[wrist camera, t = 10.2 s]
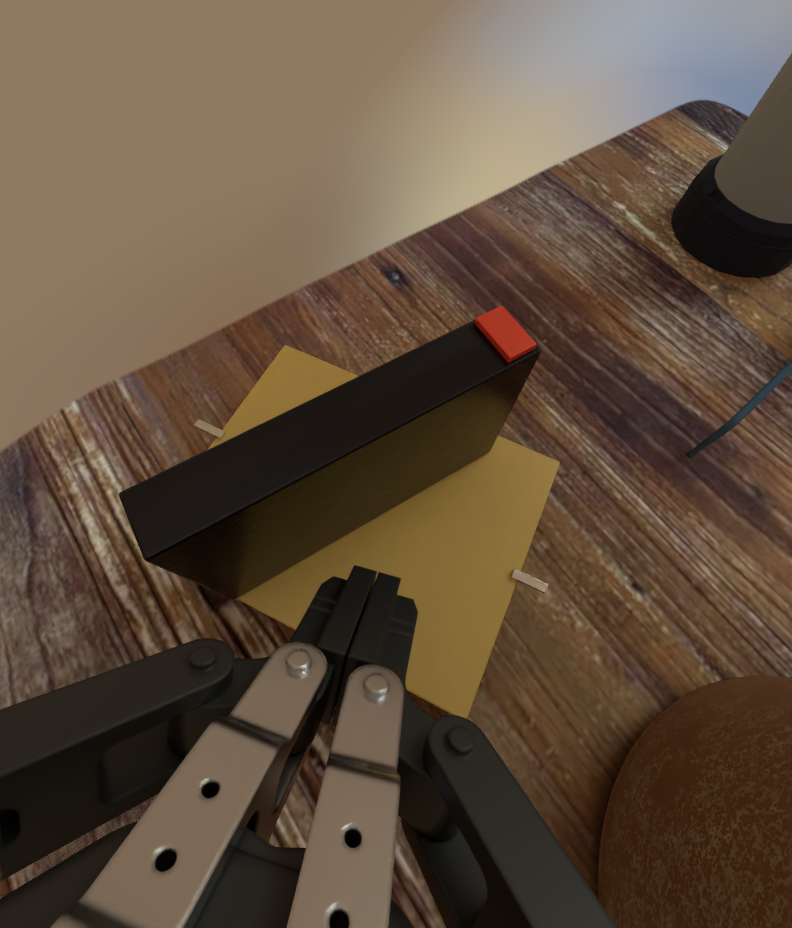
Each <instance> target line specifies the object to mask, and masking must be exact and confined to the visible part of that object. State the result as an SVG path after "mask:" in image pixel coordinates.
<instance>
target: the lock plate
mask: <svg viewBox="0 0 792 928" xmlns="http://www.w3.org/2000/svg"><path fill="white" fill-rule="evenodd" d="M356 377H358V376H357V375H355V374H352V373H350V372H348V371H345V370H343V369H341V368H338V367H336V366H334V365H331V364H329V363H327V362H324V361H322V360H320V359H317V358H315V357H313V356H310V355H308V354H306V353H303V352H301V351H299V350H296V349H294V348H292V347H289V346H287V345H284V347H283V348H282V349H281V351H280V352H279V353H278V355H277V356H276V357H275V359H274V360H273V362H272V363H271V364H270V366H269V367H268V368H267V370H266V371H265V372H264V374H263V375H262V376H261V378H260V379H259V381H258V382H257V383H256V385H255V386H254V387H253V389H252V390H251V391H250V393H249V394H248V395H247V397H246V398H245V399H244V401H243V402H242V404H241V405H240V406H239V408H238V409H237V410H236V412H235V413H234V414H233V416H232V417H231V418H230V420H229V421H228V423H227V424H226V425H225V427H224V428H223V429H222V430H221V429H219V428H217V427H214V426H212V425H210V424H208V423H206V422H204V421H202V420H200V419H198V420H197V422H196V423H195V424H194V426H195V427H196V428H198V429H200V430H203V431H205V432H207V433H209V434H211V435H213V436H215V437H216V439H215V440H214V441H213V443H212V444H211V446H210V447H209V448H208V449H210V448H212V447H214V446H217V445H219V444H221V443H223V442H225V441H227V440H229V439H231V438H233V437H235V436H237V435H239V434H241V433H243V432H245V431H247V430H249V429H251V428H254V427H256V426H258V425H260V424H262V423H264V422H266V421H268V420H270V419H272V418H274V417H276V416H278V415H280V414H282V413H284V412H286V411H288V410H291V409H293V408H295V407H297V406H299V405H301V404H303V403H305V402H307V401H309V400H311V399H313V398H315V397H317V396H319V395H321V394H323V393H325V392H328V391H330V390H332V389H334V388H336V387H338V386H340V385H342V384H344V383H346V382H348V381H350V380H352V379H354V378H356ZM559 465H560V462H558V461H556V460H554V459H551V458H549V457H547V456H544V455H542V454H540V453H537V452H535V451H533V450H530V449H528V448H526V447H523V446H521V445H519V444H516V443H514V442H512V441H509V440H507V439H505V438H502V437H500V436H498V437H497V439H496V441H495V443H494V445H493V447H492V449H491V450H490V452H489V453H487V454H485V455H484V456H482V457H480V458H479V459H477V460H475V461H473V462H472V463H470V464H468V465H466V466H465V467H463V468H461V469H460V470H458V471H456V472H454V473H453V474H451V475H449V476H447V477H446V478H444V479H442V480H440V481H439V482H437V483H435V484H434V485H432V486H430V487H428V488H427V489H425V490H423V491H421V492H420V493H418V494H416V495H415V496H413V497H411V498H409V499H408V500H406V501H404V502H402V503H401V504H399V505H397V506H396V507H394V508H392V509H390V510H389V511H387V512H385V513H383V514H382V515H380V516H378V517H377V518H375V519H373V520H371V521H370V522H368V523H366V524H364V525H363V526H361V527H359V528H357V529H356V530H354V531H352V532H351V533H349V534H347V535H345V536H344V537H342V538H340V539H338V540H337V541H335V542H333V543H332V544H330V545H328V546H326V547H325V548H323V549H321V550H319V551H318V552H316V553H314V554H313V555H311V556H309V557H307V558H306V559H304V560H302V561H300V562H299V563H297V564H295V565H293V566H292V567H290V568H288V569H287V570H285V571H283V572H281V573H280V574H278V575H276V576H274V577H273V578H271V579H269V580H268V581H266V582H264V583H262V584H261V585H259V586H257V587H255V588H254V589H252V590H250V591H249V592H247V593H245V594H243V595H242V596H240V597H238V598H236V599H238V600H240V601H242V602H243V603H245V604H247V605H249V606H251V607H253V608H255V609H256V610H258V611H260V612H262V613H264V614H266V615H268V616H269V617H271V618H273V619H275V620H277V621H279V622H281V623H282V624H284V625H286V626H288V627H290V628H292V629H294V630H296V629H297V627H298V625H299V623H300V621H301V620H302V618H303V616H304V614H305V612H306V611H307V609H308V607H309V606H310V603H311V602H312V600H313V598H314V597H315V594H316V593H317V591H318V589H319V587H320V585H321V584H322V583H324V582H325V581H327V580H328V579H330V578H331V577H333V576H335V577H338V578H342V579H345V580H347V579H348V577H349V575H350V573H351V571H352V569H353V567H354V565H357V566H360V567H364V568H367V569H371V570H374V571H377V575H378V573H379V572H382V573H385V574H388V575H392V576H395V577H399V578H401V581H400V585H399V589H398V593H397V595H400V596H404V597H407V598H411V599H414V602H415V605H416V608H417V611H418V616H417V621H416V626H415V632H414V637H413V642H412V648H411V653H410V658H409V663H408V668H407V674H406V680H405V683H406V689H407V691H409V692H411V693H413V694H414V695H416V696H418V697H420V698H422V699H424V700H426V701H428V702H429V703H431V704H433V705H435V706H437V707H439V708H441V709H442V710H444V711H446V712H448V713H450V714H452V715H457V716H461V717H464V718H466V719H467V717H468V715H469V712H470V709H471V706H472V704H473V701H474V698H475V695H476V693H477V690H478V687H479V684H480V682H481V679H482V676H483V673H484V671H485V668H486V665H487V662H488V660H489V657H490V654H491V651H492V649H493V646H494V643H495V640H496V638H497V635H498V632H499V629H500V627H501V624H502V621H503V618H504V616H505V613H506V610H507V608H508V605H509V602H510V599H511V597H512V594H513V591H514V588H515V586H516V583H517V581H519V582H521V583H523V584H526V585H528V586H530V587H532V588H534V589H536V590H538V591H540V592H542V593H546V591H547V588H548V584H546V583H544V582H542V581H540V580H538V579H536V578H534V577H532V576H530V575H527V574H525V573H523V572H521V569H522V566H523V564H524V561H525V558H526V555H527V553H528V550H529V547H530V544H531V542H532V539H533V536H534V533H535V531H536V528H537V525H538V522H539V520H540V517H541V514H542V511H543V509H544V506H545V503H546V500H547V498H548V495H549V492H550V490H551V487H552V484H553V481H554V479H555V476H556V473H557V470H558V468H559ZM138 546H139V545H138ZM377 575H376V578H377ZM375 580H376V579H375Z"/></svg>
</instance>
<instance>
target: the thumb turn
mask: <svg viewBox="0 0 792 928" xmlns="http://www.w3.org/2000/svg"><path fill="white" fill-rule="evenodd" d="M540 353H541V350H540V348H539V347H538V346H537V344H536V343H535V341H534V340H533V339H532V338H531V337H530V336H529V335H528V334H527V333H526V331H525V330H524V329H523V328H522V327H521V326H520V325H519V324H518V323H517V322H516V320H515V319H514V318H513V317H512V316H511V315H510V314H509V313H508V312H507V310H506V309H505V308H504V307H503V306H500V307H498V308H496V309H494V310H492V311H490V312H488V313H486V314H483V315H481V316H479V317H477V318H476V319H475V320H473V321H471V322H469V323H467V324H465V325H463V326H461V327H459V328H457V329H455V330H453V331H451V332H449V333H447V334H445V335H443V336H441V337H438V338H436V339H434V340H432V341H430V342H428V343H426V344H424V345H422V346H420V347H418V348H416V349H414V350H412V351H410V352H408V353H406V354H404V355H401V356H399V357H397V358H395V359H393V360H391V361H389V362H387V363H385V364H383V365H381V366H379V367H377V368H375V369H373V370H371V371H369V372H367V373H365V374H362V375H360V376H358V377H356V378H354V379H352V380H350V381H348V382H346V383H344V384H342V385H340V386H338V387H336V388H334V389H332V390H330V391H328V392H325V393H323V394H321V395H319V396H317V397H315V398H313V399H311V400H309V401H307V402H305V403H303V404H301V405H299V406H297V407H295V408H293V409H291V410H288V411H286V412H284V413H282V414H280V415H278V416H276V417H274V418H272V419H270V420H268V421H266V422H264V423H262V424H260V425H258V426H256V427H254V428H251V429H249V430H247V431H245V432H243V433H241V434H239V435H237V436H235V437H233V438H231V439H229V440H227V441H225V442H223V443H221V444H219V445H217V446H214V447H212V448H210V449H208V450H206V451H204V452H202V453H200V454H198V455H196V456H194V457H192V458H190V459H188V460H186V461H184V462H182V463H180V464H177V465H175V466H173V467H171V468H169V469H167V470H165V471H163V472H161V473H159V474H157V475H155V476H153V477H151V478H149V479H147V480H145V481H143V482H140V483H138V484H136V485H134V486H132V487H130V488H128V489H126V490H124V491H122V492H120V493H119V497H120V500H121V502H122V505H123V507H124V510H125V512H126V515H127V517H128V520H129V523H130V525H131V528H132V530H133V533H134V535H135V538H136V540H137V543H138V545H139V548H140V550H141V553H142V555H143V558H144V560H146V561H147V562H149V563H152V564H154V565H156V566H159V567H161V568H163V569H165V570H168V571H170V572H172V573H175V574H177V575H179V576H181V577H184V578H186V579H188V580H191V581H193V582H195V583H197V584H200V585H202V586H204V587H207V588H209V589H211V590H213V591H216V592H218V593H220V594H223V595H225V596H227V597H229V598H232V599H236V598H238V597H240V596H242V595H243V594H245V593H247V592H249V591H250V590H252V589H254V588H255V587H257V586H259V585H261V584H262V583H264V582H266V581H268V580H269V579H271V578H273V577H274V576H276V575H278V574H280V573H281V572H283V571H285V570H287V569H288V568H290V567H292V566H293V565H295V564H297V563H299V562H300V561H302V560H304V559H306V558H307V557H309V556H311V555H313V554H314V553H316V552H318V551H319V550H321V549H323V548H325V547H326V546H328V545H330V544H332V543H333V542H335V541H337V540H338V539H340V538H342V537H344V536H345V535H347V534H349V533H351V532H352V531H354V530H356V529H357V528H359V527H361V526H363V525H364V524H366V523H368V522H370V521H371V520H373V519H375V518H377V517H378V516H380V515H382V514H383V513H385V512H387V511H389V510H390V509H392V508H394V507H396V506H397V505H399V504H401V503H402V502H404V501H406V500H408V499H409V498H411V497H413V496H415V495H416V494H418V493H420V492H421V491H423V490H425V489H427V488H428V487H430V486H432V485H434V484H435V483H437V482H439V481H440V480H442V479H444V478H446V477H447V476H449V475H451V474H453V473H454V472H456V471H458V470H460V469H461V468H463V467H465V466H466V465H468V464H470V463H472V462H473V461H475V460H477V459H479V458H480V457H482V456H484V455H485V454H487V453H489V452H490V450H491V449H492V447H493V445H494V443H495V441H496V439H497V437H498V435H499V433H500V431H501V429H502V427H503V425H504V423H505V421H506V419H507V417H508V415H509V413H510V411H511V409H512V407H513V405H514V404H515V402H516V400H517V398H518V396H519V394H520V392H521V390H522V388H523V386H524V384H525V382H526V380H527V378H528V376H529V374H530V372H531V370H532V368H533V366H534V364H535V362H536V360H537V359H538V357H539V355H540Z"/></svg>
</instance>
